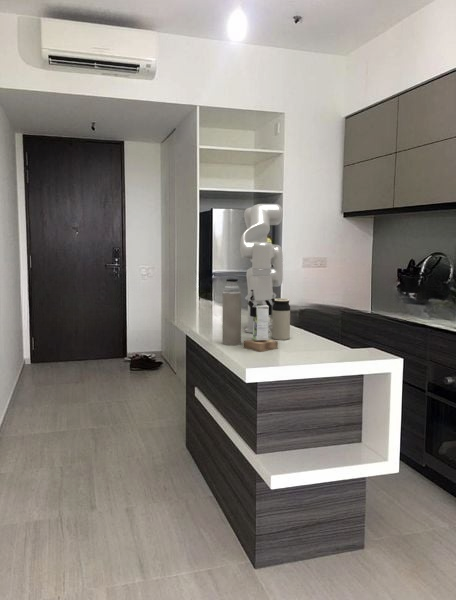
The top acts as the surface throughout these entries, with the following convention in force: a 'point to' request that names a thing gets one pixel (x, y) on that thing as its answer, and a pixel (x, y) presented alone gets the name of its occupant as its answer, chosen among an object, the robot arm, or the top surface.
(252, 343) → the base block
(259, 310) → the syrup box
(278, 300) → the travel mug
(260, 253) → the robot arm
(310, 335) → the top surface
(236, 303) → the thermos bottle
